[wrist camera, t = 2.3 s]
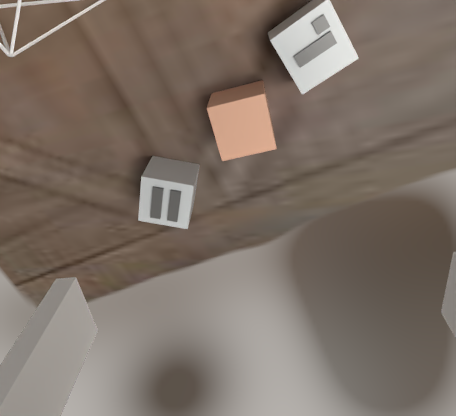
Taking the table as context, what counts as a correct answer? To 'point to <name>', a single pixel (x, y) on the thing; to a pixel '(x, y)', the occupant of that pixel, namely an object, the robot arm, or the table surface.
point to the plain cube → (241, 121)
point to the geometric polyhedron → (9, 51)
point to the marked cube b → (312, 44)
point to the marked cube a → (168, 192)
